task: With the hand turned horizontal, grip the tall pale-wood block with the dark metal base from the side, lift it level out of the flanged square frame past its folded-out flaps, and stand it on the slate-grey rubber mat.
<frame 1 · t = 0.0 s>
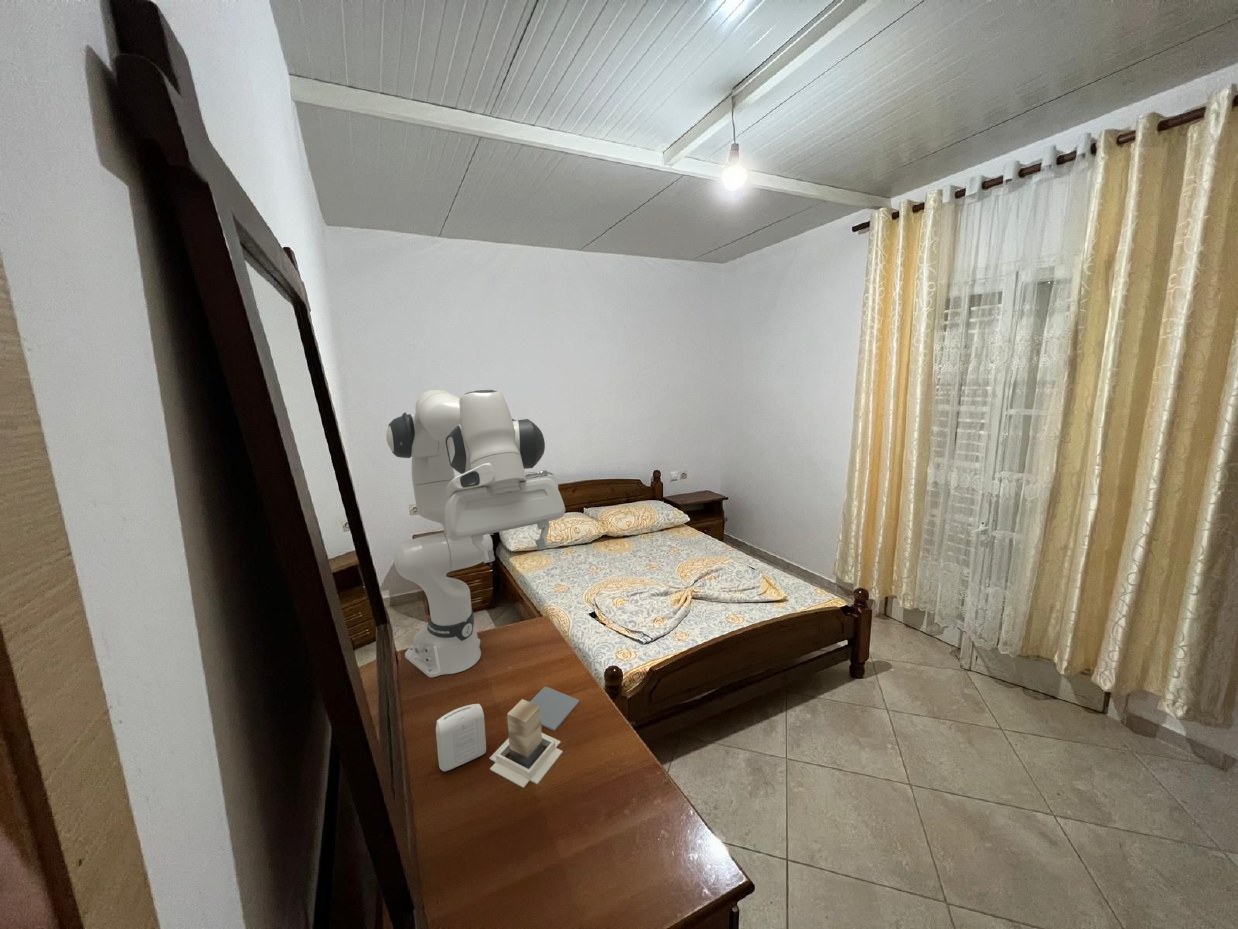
hand: (517, 555, 80), 54 cm above the dresser, tool tilted 30°, fingers open, 8 cm apart
slate mat: (549, 708, 119), on the dresser
photo printer: (463, 758, 105), on the dresser
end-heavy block: (525, 733, 104), in the flanged square frame
flanged square frame: (526, 755, 105), on the dresser
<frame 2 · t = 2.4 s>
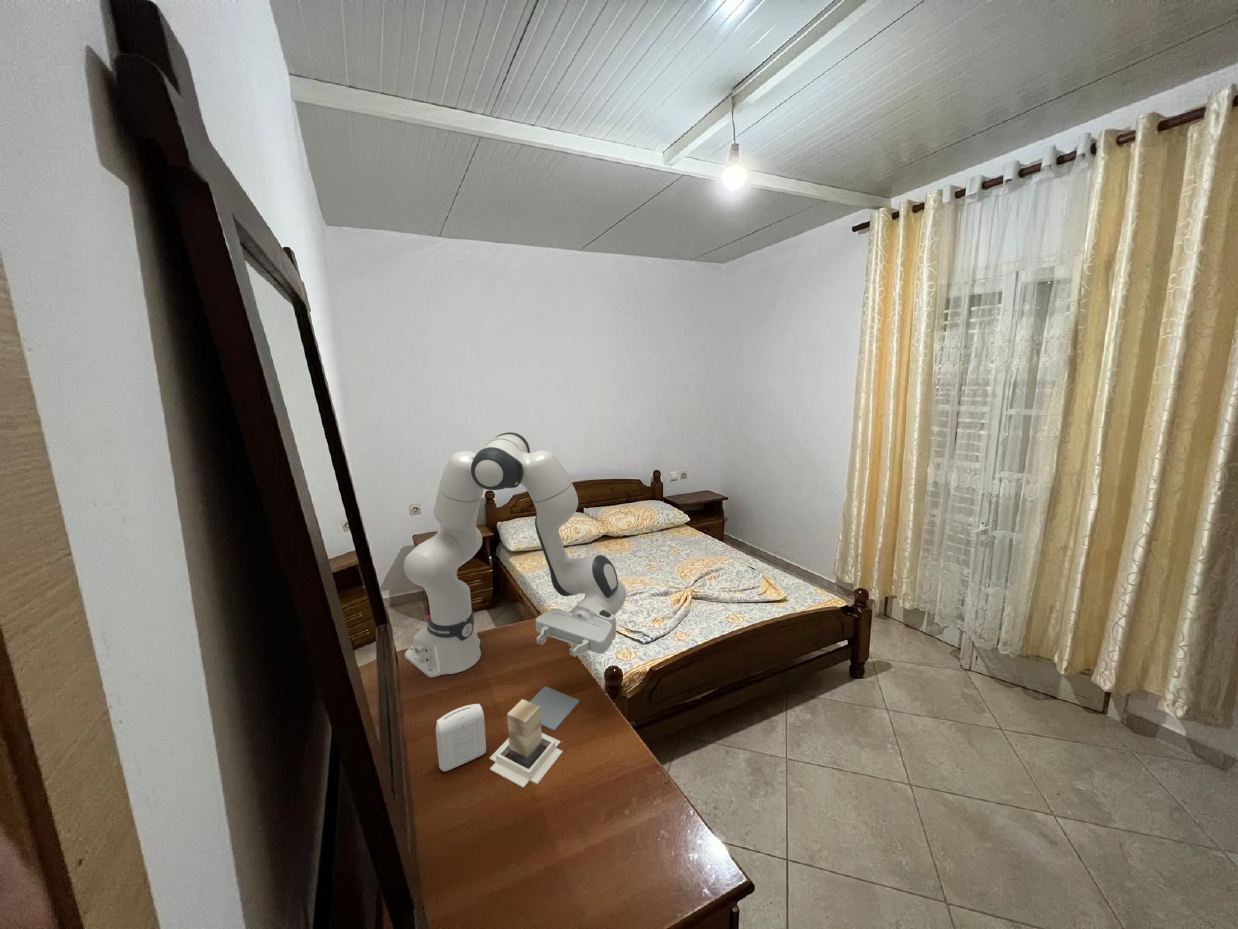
hand: (555, 647, 111), 20 cm above the dresser, tool horizontal, fingers open, 8 cm apart
nothing on the dresser moved.
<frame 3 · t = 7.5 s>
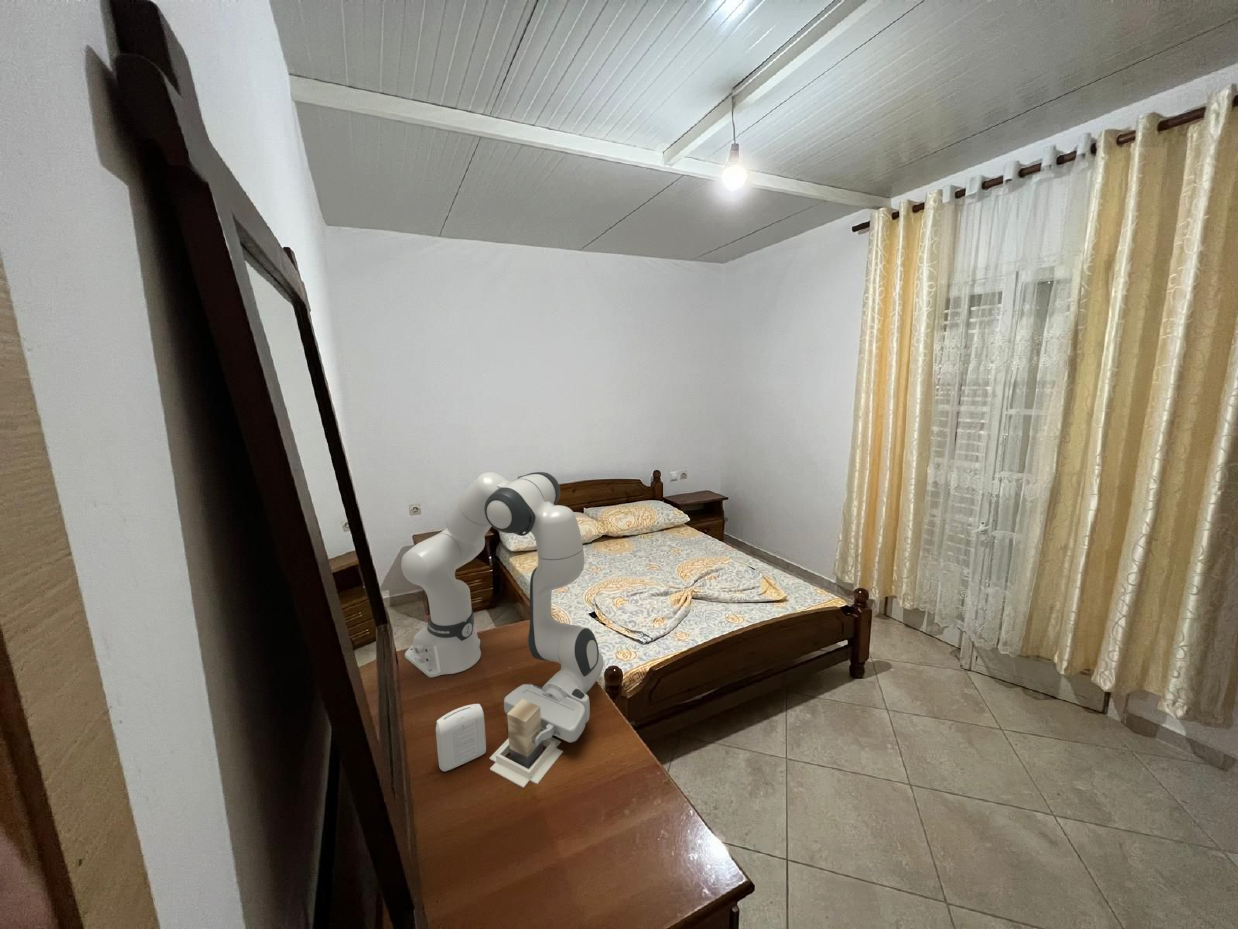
hand: (522, 736, 103), 6 cm above the dresser, tool horizontal, fingers closed on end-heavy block, 5 cm apart
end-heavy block: (525, 733, 104), in the flanged square frame, touching gripper
everything else where it was.
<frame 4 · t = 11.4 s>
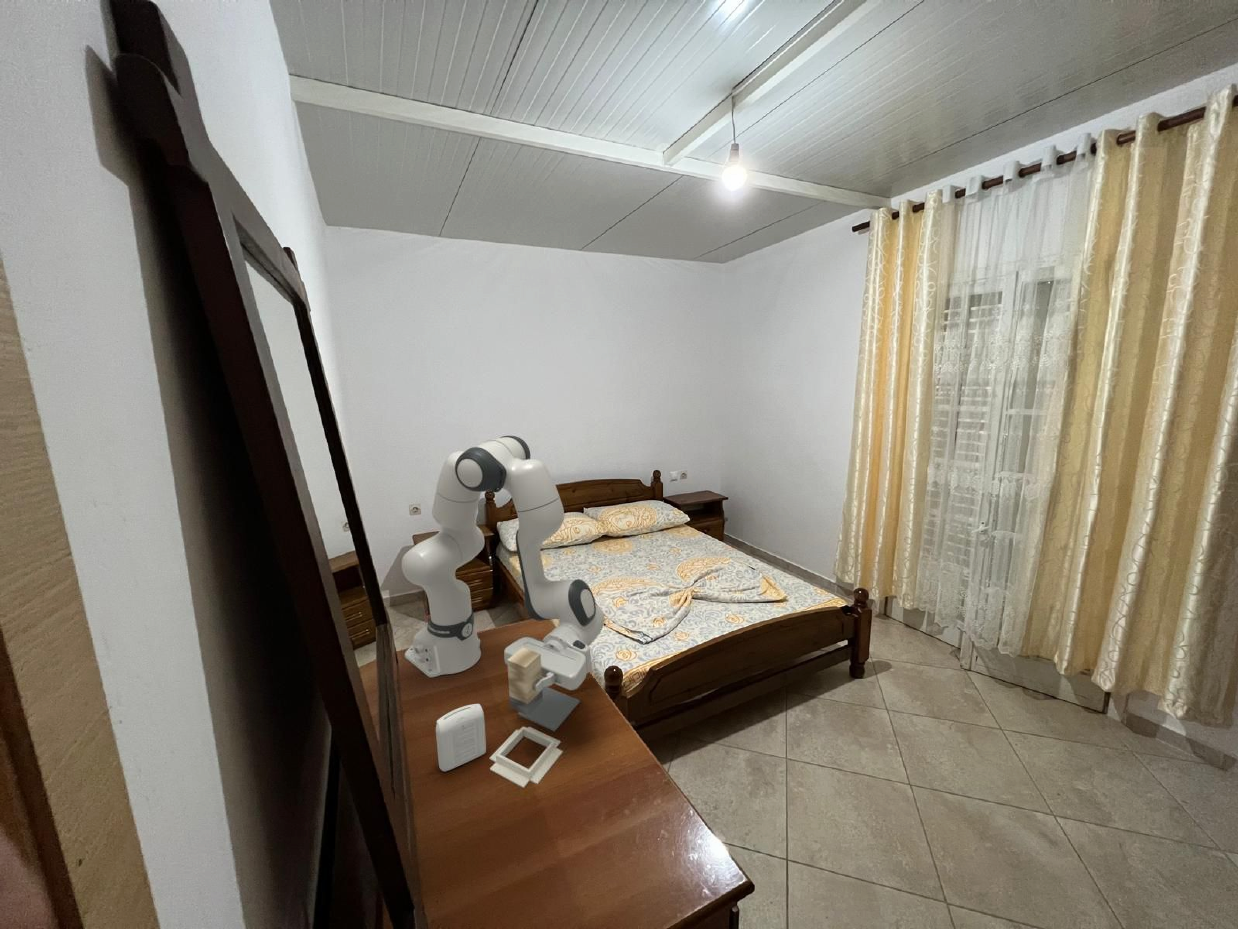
hand: (522, 683, 102), 18 cm above the dresser, tool horizontal, fingers closed on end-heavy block, 5 cm apart
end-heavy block: (525, 681, 103), point 18 cm above the dresser, touching gripper
everything else where it was.
when the fingers open (7 cm above the dresser, at t = 15.5 s): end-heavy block stays where it is, resting on slate mat.
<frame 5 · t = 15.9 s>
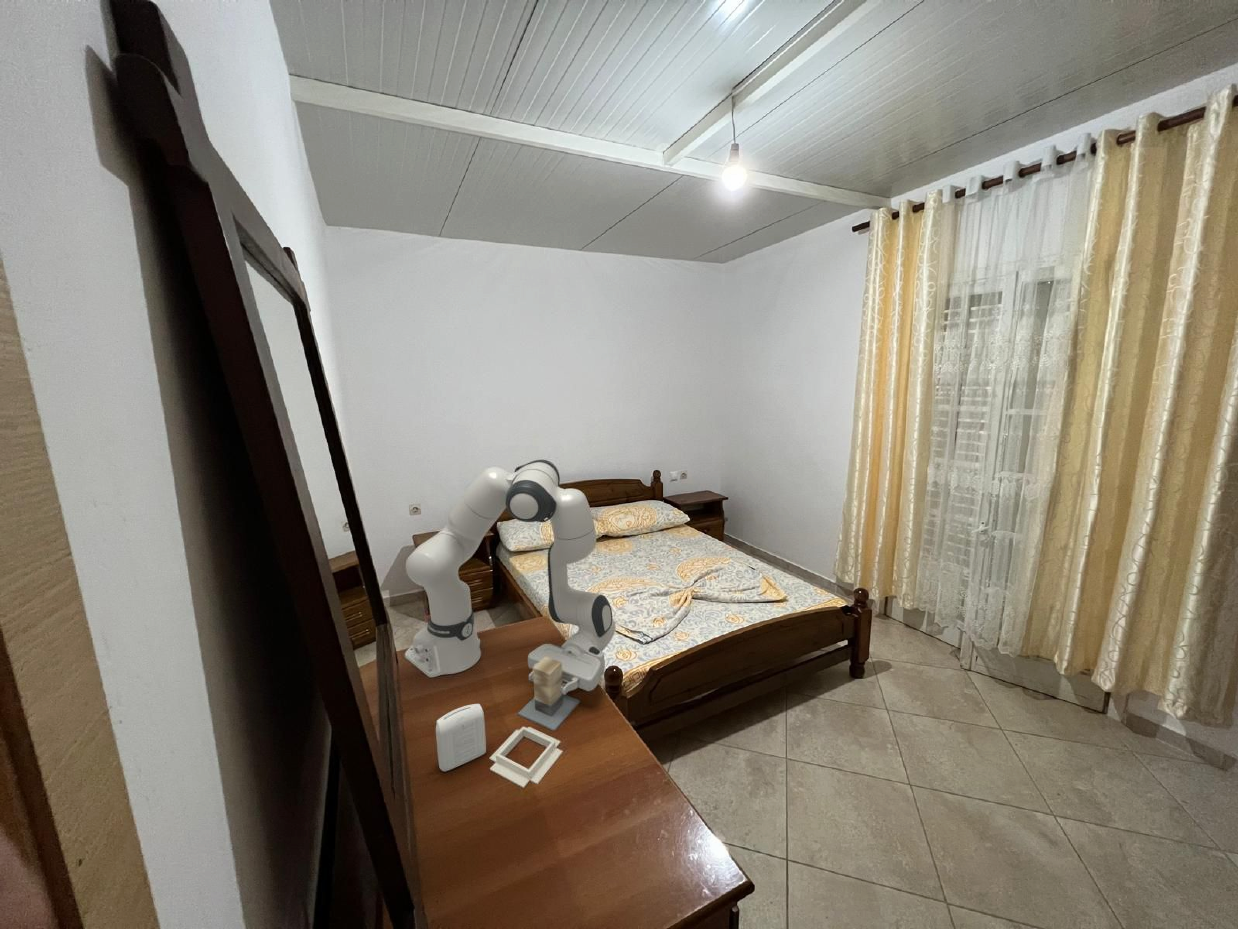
hand: (546, 685, 116), 7 cm above the dresser, tool horizontal, fingers open, 8 cm apart
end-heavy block: (548, 686, 117), on the slate mat
everything else where it was.
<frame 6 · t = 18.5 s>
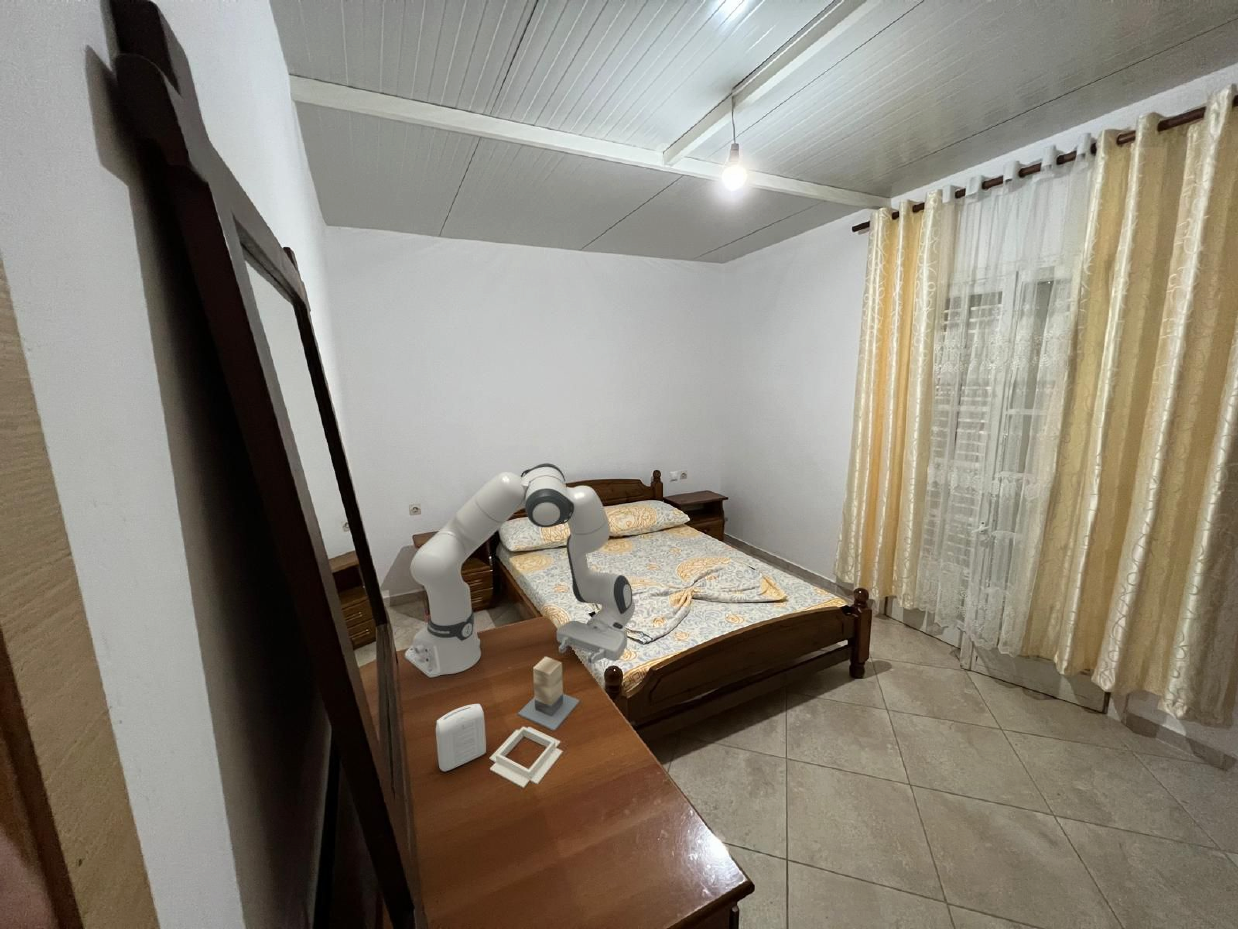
hand: (575, 655, 127), 8 cm above the dresser, tool horizontal, fingers open, 8 cm apart
nothing on the dresser moved.
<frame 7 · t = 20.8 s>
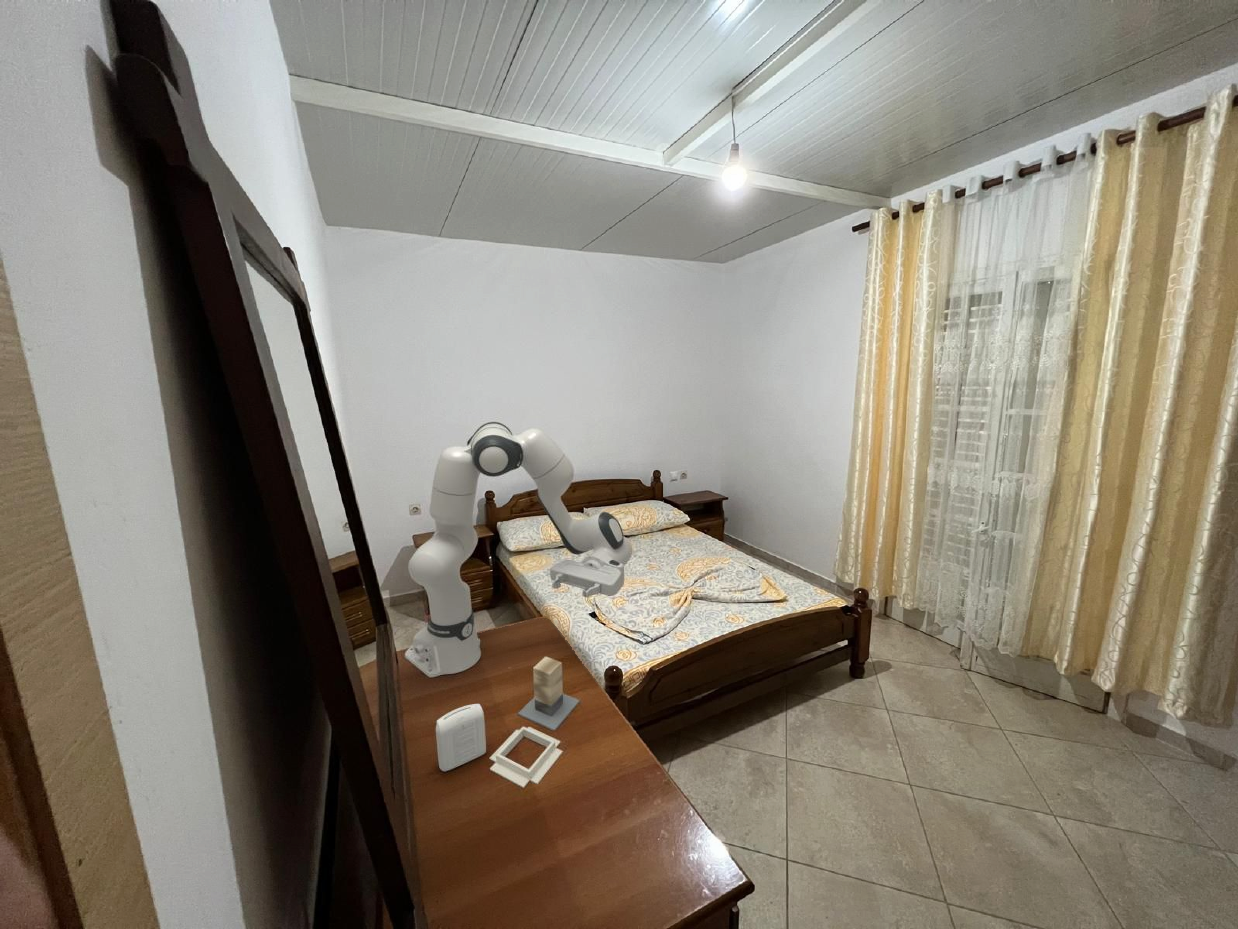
hand: (569, 590, 121), 28 cm above the dresser, tool horizontal, fingers open, 8 cm apart
nothing on the dresser moved.
at the end: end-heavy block inside the target area on the slate mat (0.1 cm from its centre), point 6.5 cm above the slate mat's base; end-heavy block tilted 0°; the gripper is holding nothing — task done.
